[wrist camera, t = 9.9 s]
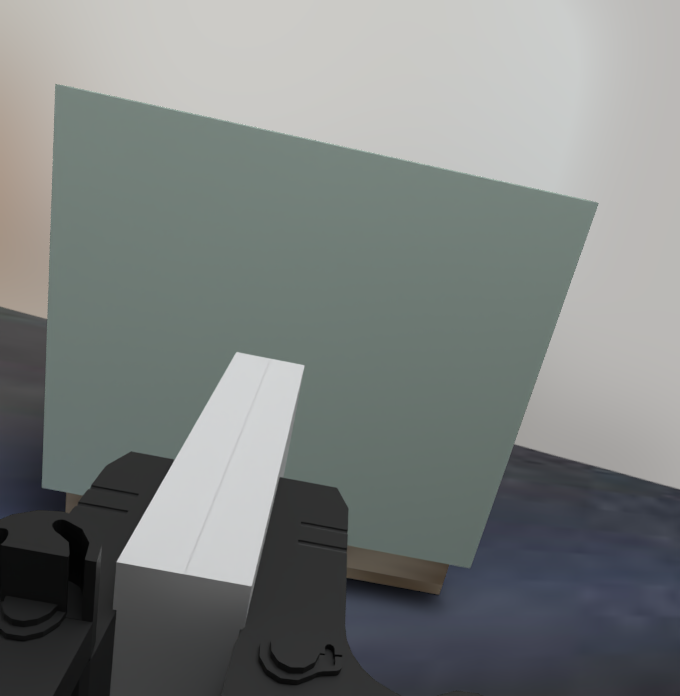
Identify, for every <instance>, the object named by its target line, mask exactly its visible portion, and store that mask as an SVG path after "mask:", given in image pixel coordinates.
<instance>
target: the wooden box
mask: <svg viewBox="0 0 680 696" xmlns="http://www.w3.org/2000/svg"><path fill="white" fill-rule="evenodd" d="M82 496H83V495H78V494H72V493H67V492H66V510H65V512H66V513H70V512H71V510H72V509H73V508H74V507H75V506H77V505H78V501H79V500H80V499H81V497H82ZM448 567H449V564H444V563H439V562H434V561H428V560H423V559H418V558H412V557H407V556H402V555H396V554H391V553H386V552H380V551H375V550H370V549H364V548H359V547H354V546H349V545H347V577H346V578H351V579H357V580H362V581H367V582H373V583H378V584H384V585H389V586H394V587H400V588H405V589H411V590H416V591H421V592H427V593H432V594H437V595H439V594H440V591H441V588H442V585H443V582H444V579H445V576H446V573H447V570H448Z"/></svg>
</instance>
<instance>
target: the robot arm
mask: <svg viewBox="0 0 680 696" xmlns="http://www.w3.org/2000/svg"><path fill="white" fill-rule="evenodd" d="M304 366H305V365H300V364H295V363H290V362H285V361H280V360H275V359H270V358H265V357H259V356H254V355H249V354H244V353H239V352H236V354H235V355H234V357H233V359H232V361H231V362H230V364H229V366H228V368H227V369H226V371H225V373H224V375H223V376H222V378H221V380H220V382H219V383H218V385H217V387H216V389H215V390H214V392H213V394H212V396H211V397H210V399H209V401H208V403H207V404H206V406H205V408H204V410H203V411H202V413H201V415H200V417H199V418H198V420H197V422H196V424H195V425H194V427H193V429H192V431H191V432H190V434H189V436H188V438H187V439H186V441H185V443H184V445H183V446H182V448H181V450H180V452H179V453H178V455H177V457H176V459H170V458H164V457H159V456H154V455H148V454H143V453H138V452H132V451H131V452H129V453H127V454H125V455H124V456H122V457H120V458H118V459H117V460H115V461H113V462H111V463H110V464H108V465H106V466H105V468H104V469H103V470H102V471H101V473H100V474H99V475H98V477H97V478H96V479H95V481H94V482H93V483H92V484H91V488H90V489H88V490H87V491H86V492H85V494H84V495H83V496H82V497H81V499H80V500H79V501H78V505H77V506H75V507H74V508H73V509H72V510H71V512H70V513H66V512H63V511H45V510H36V511H30V512H24V513H18V514H12V515H10V516H7V517H5V518H2V519H0V696H401V695H399V694H397V693H395V692H393V691H391V690H390V689H388V688H386V687H385V686H383V685H382V684H380V683H378V682H377V681H375V680H374V679H373V678H372V677H371V676H370V675H369V674H368V673H367V672H366V671H365V670H364V669H363V668H362V667H361V666H360V664H359V663H358V662H357V660H356V659H355V657H354V656H353V654H352V652H351V650H350V647H349V645H348V642H347V639H346V630H345V610H346V577H347V543H348V534H347V532H348V510H349V508H348V506H347V505H346V503H345V501H344V499H343V497H342V496H341V494H340V492H339V490H338V488H336V487H331V486H325V485H320V484H314V483H309V482H304V481H298V480H293V479H288V478H283V476H284V472H285V466H286V461H287V456H288V451H289V445H290V440H291V435H292V430H293V424H294V419H295V414H296V409H297V403H298V398H299V393H300V388H301V382H302V377H303V372H304ZM438 696H483V695H480V694H477V693H470V692H463V691H453V692H449V693H445V694H442V695H438Z"/></svg>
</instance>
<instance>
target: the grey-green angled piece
mask: <svg viewBox="0 0 680 696" xmlns="http://www.w3.org/2000/svg"><path fill="white" fill-rule="evenodd" d="M54 115H55V116H54V143H53V172H52V201H51V232H50V260H49V291H48V319H47V349H46V378H45V408H44V437H43V467H42V488H46V489H51V490H56V491H62V492H67V493H72V494H78V495H84V494H85V492H86V491H87V490H88V489H90V488H91V484H92V483H93V482H94V481H95V479H96V478H97V477H98V475H99V474H100V473H101V471H102V470H103V469H104V468H105V466H106V465H108V464H110V463H111V462H113V461H115V460H117V459H118V458H120V457H122V456H124V455H125V454H127V453H129V452H131V451H132V452H138V453H143V454H148V455H154V456H159V457H164V458H170V459H176V457H177V455H178V453H179V452H180V450H181V448H182V446H183V445H184V443H185V441H186V439H187V438H188V436H189V434H190V432H191V431H192V429H193V427H194V425H195V424H196V422H197V420H198V418H199V417H200V415H201V413H202V411H203V410H204V408H205V406H206V404H207V403H208V401H209V399H210V397H211V396H212V394H213V392H214V390H215V389H216V387H217V385H218V383H219V382H220V380H221V378H222V376H223V375H224V373H225V371H226V369H227V368H228V366H229V364H230V362H231V361H232V359H233V357H234V355H235V354H236V352H239V353H244V354H249V355H254V356H259V357H265V358H270V359H275V360H280V361H285V362H290V363H295V364H300V365H305V366H304V372H303V377H302V382H301V388H300V393H299V398H298V403H297V409H296V414H295V419H294V424H293V430H292V435H291V440H290V445H289V451H288V456H287V461H286V466H285V472H284V476H283V478H288V479H293V480H298V481H304V482H309V483H314V484H320V485H325V486H331V487H336V488H338V490H339V492H340V494H341V496H342V497H343V499H344V501H345V503H346V505H347V506H348V508H349V510H348V532H347V534H348V543H347V545H349V546H354V547H359V548H364V549H370V550H375V551H380V552H386V553H391V554H396V555H402V556H407V557H412V558H418V559H423V560H428V561H434V562H439V563H444V564H449V565H455V566H460V567H465V568H471V565H472V562H473V559H474V556H475V553H476V550H477V548H478V545H479V542H480V539H481V536H482V533H483V531H484V528H485V525H486V522H487V519H488V516H489V513H490V511H491V508H492V505H493V502H494V499H495V496H496V494H497V491H498V488H499V485H500V482H501V479H502V477H503V474H504V471H505V468H506V465H507V462H508V459H509V457H510V454H511V451H512V448H513V445H514V442H515V440H516V437H517V434H518V431H519V428H520V425H521V422H522V420H523V417H524V414H525V411H526V408H527V405H528V402H529V399H530V397H531V394H532V391H533V388H534V385H535V383H536V380H537V377H538V374H539V371H540V368H541V365H542V363H543V360H544V357H545V354H546V351H547V348H548V346H549V342H550V340H551V337H552V334H553V331H554V329H555V326H556V323H557V320H558V317H559V314H560V312H561V309H562V306H563V303H564V300H565V297H566V294H567V292H568V289H569V286H570V283H571V280H572V277H573V275H574V272H575V269H576V266H577V263H578V260H579V257H580V255H581V252H582V249H583V246H584V243H585V240H586V237H587V234H588V232H589V229H590V226H591V223H592V220H593V218H594V215H595V212H596V209H597V206H598V203H597V202H593V201H589V200H585V199H580V198H576V197H571V196H567V195H562V194H558V193H553V192H549V191H544V190H539V189H535V188H530V187H526V186H521V185H517V184H512V183H508V182H503V181H498V180H494V179H489V178H485V177H480V176H476V175H471V174H467V173H462V172H457V171H453V170H448V169H444V168H439V167H434V166H430V165H425V164H420V163H416V162H412V161H407V160H403V159H398V158H393V157H389V156H384V155H380V154H375V153H371V152H366V151H361V150H357V149H352V148H347V147H343V146H339V145H334V144H330V143H325V142H320V141H316V140H311V139H307V138H302V137H297V136H293V135H288V134H284V133H279V132H275V131H270V130H266V129H261V128H257V127H252V126H247V125H243V124H238V123H233V122H229V121H224V120H220V119H215V118H211V117H206V116H202V115H197V114H192V113H188V112H183V111H178V110H174V109H170V108H165V107H161V106H156V105H152V104H147V103H142V102H137V101H133V100H129V99H124V98H119V97H115V96H110V95H106V94H101V93H97V92H92V91H87V90H83V89H78V88H74V87H69V86H63V85H57V84H56V86H55V114H54Z"/></svg>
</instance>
